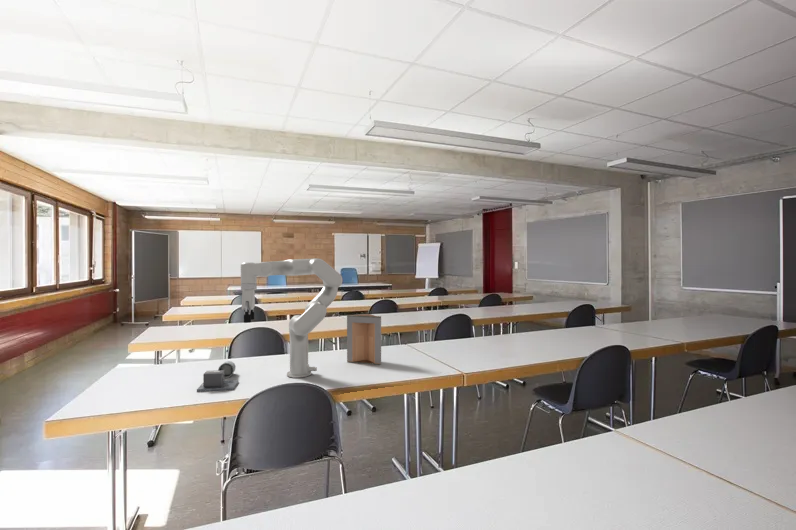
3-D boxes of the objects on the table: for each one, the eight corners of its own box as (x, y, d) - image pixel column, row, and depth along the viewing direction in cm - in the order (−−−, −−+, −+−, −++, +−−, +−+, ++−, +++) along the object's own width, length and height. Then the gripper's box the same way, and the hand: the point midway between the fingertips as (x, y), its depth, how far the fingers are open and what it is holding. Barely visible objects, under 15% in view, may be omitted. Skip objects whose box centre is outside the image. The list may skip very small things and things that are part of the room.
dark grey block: (224, 382, 200) (224, 369, 200) (221, 386, 194) (221, 372, 194) (206, 383, 198) (206, 370, 198) (203, 386, 193) (203, 373, 193)
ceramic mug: (236, 373, 221) (235, 358, 220) (233, 377, 213) (233, 362, 212) (215, 374, 218) (214, 360, 218) (211, 379, 210) (211, 364, 210)
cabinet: (347, 362, 243) (346, 315, 243) (353, 358, 252) (353, 313, 252) (380, 365, 237) (380, 316, 237) (385, 361, 246) (385, 314, 246)
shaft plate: (238, 382, 204) (238, 372, 204) (233, 389, 192) (233, 379, 192) (204, 384, 201) (204, 374, 201) (196, 391, 189) (196, 381, 189)
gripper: (244, 286, 214) (244, 318, 214) (237, 288, 197) (237, 323, 197) (259, 285, 215) (259, 318, 216) (253, 288, 198) (254, 323, 199)
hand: (249, 320), depth 206 cm, fingers open, 9 cm apart
